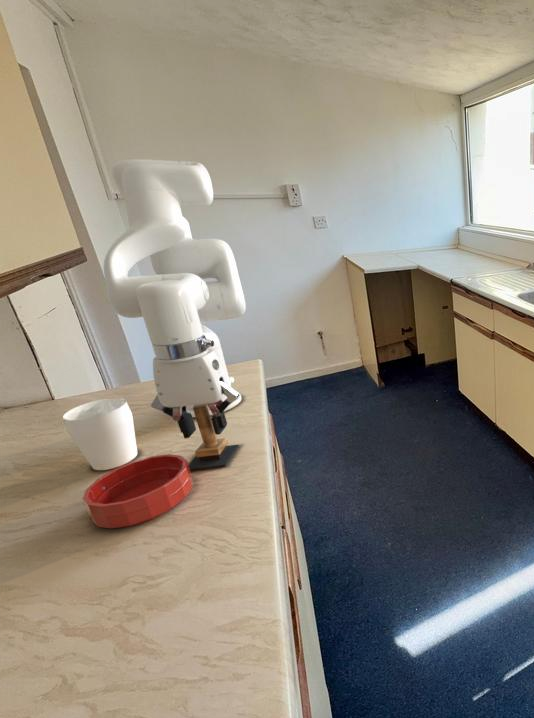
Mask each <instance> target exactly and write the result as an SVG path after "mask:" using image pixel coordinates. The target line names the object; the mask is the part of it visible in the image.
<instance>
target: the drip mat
mask: <svg viewBox="0 0 534 718" xmlns="http://www.w3.org/2000/svg"><path fill="white" fill-rule="evenodd" d="M239 447H240V444H232V445H231V444H230V445H227V448H228V449H227V450H226V452H225V453H224V455H223V456H222V457H221V459H217V460H209V461H201V462H200V460H199V457H197V456H196V455H195V457H193V459H192V460H191V461H190V462H189V463H188V466H189V469H190V472H195V471H202V470H210V469H216V468H217V469H218V468H224V467H225V468H226V467H227V465H228V464H229V462H230V461H231V459H232V458H233V456H234V455H235V453H236V452H237V450H238V449H239Z"/></svg>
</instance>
